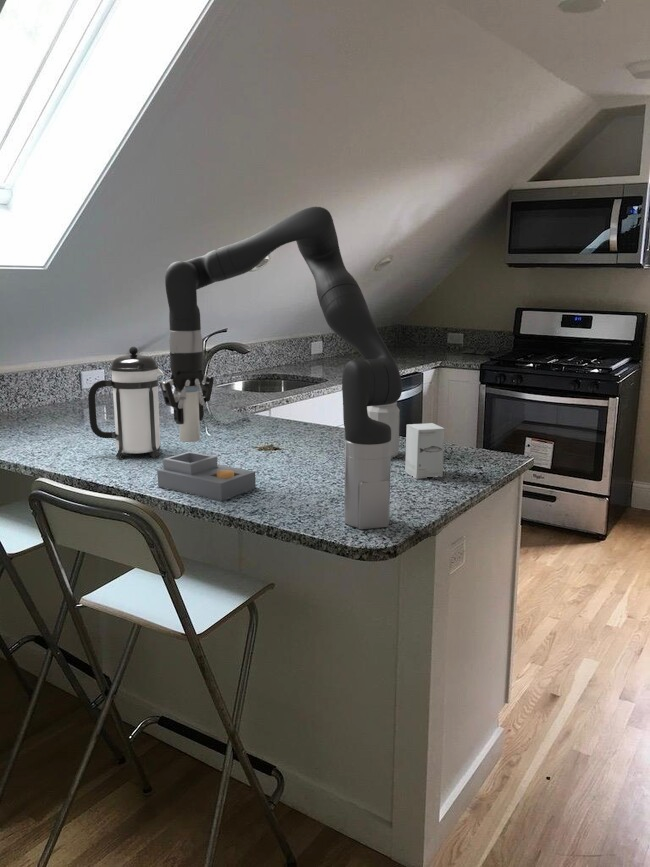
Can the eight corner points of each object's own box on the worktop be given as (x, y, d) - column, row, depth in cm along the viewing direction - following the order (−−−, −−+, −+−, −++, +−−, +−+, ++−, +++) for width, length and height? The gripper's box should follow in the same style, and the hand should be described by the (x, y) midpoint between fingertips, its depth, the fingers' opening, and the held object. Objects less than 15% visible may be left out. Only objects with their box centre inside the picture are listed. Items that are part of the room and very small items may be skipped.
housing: (255, 488, 174) (255, 461, 173) (221, 500, 164) (220, 472, 163) (193, 475, 185) (192, 449, 184) (158, 486, 175) (156, 460, 174)
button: (238, 488, 172) (237, 471, 171) (226, 492, 169) (226, 475, 168) (225, 485, 174) (224, 468, 173) (213, 489, 171) (213, 472, 170)
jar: (401, 453, 208) (403, 389, 204) (395, 461, 199) (396, 395, 195) (367, 450, 210) (368, 388, 206) (359, 459, 201) (360, 393, 197)
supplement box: (416, 479, 181) (417, 429, 179) (404, 472, 188) (405, 423, 185) (443, 477, 183) (445, 427, 181) (431, 470, 190) (432, 422, 187)
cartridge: (199, 441, 173) (197, 387, 170) (178, 442, 172) (175, 387, 170) (201, 437, 178) (199, 383, 175) (180, 437, 177) (178, 384, 175)
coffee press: (142, 444, 217) (136, 342, 211) (177, 453, 207) (172, 346, 201) (90, 456, 204) (83, 347, 197) (125, 465, 194) (118, 351, 188)
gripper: (201, 346, 178) (204, 416, 182) (150, 351, 168) (154, 424, 172) (220, 348, 173) (223, 420, 177) (169, 353, 163) (172, 428, 167)
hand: (189, 421), depth 174 cm, fingers closed on cartridge, 4 cm apart
